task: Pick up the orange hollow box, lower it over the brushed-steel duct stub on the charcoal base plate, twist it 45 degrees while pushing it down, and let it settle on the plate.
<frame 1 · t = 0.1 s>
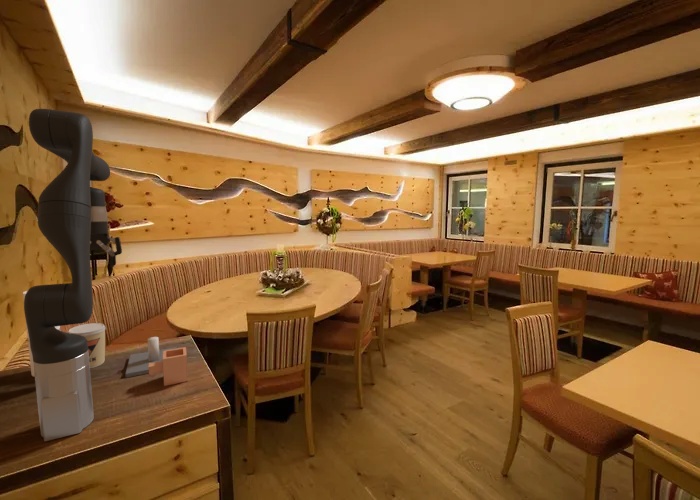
hand: (97, 267, 109), 29 cm above the table, tool pointing down, fingers open, 8 cm apart
orange hollow box: (176, 378, 95), on the table
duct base: (154, 362, 104), on the table
coffee cup: (89, 364, 102), on the table
cylindrical container: (48, 371, 97), on the table
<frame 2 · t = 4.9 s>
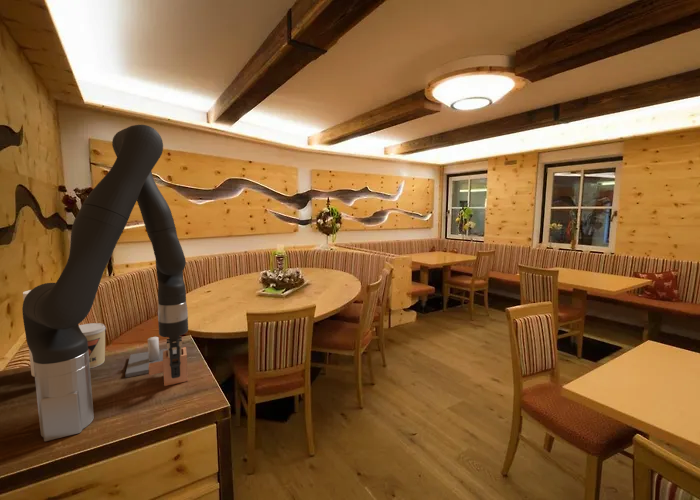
hand: (175, 371, 95), 2 cm above the table, tool pointing down, fingers closed on orange hollow box, 6 cm apart
orange hollow box: (176, 378, 95), on the table, touching gripper
everything else where it was.
when the fingers open (5 cm above the table, at t = 11.6 s): orange hollow box drops 1 cm, resting on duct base.
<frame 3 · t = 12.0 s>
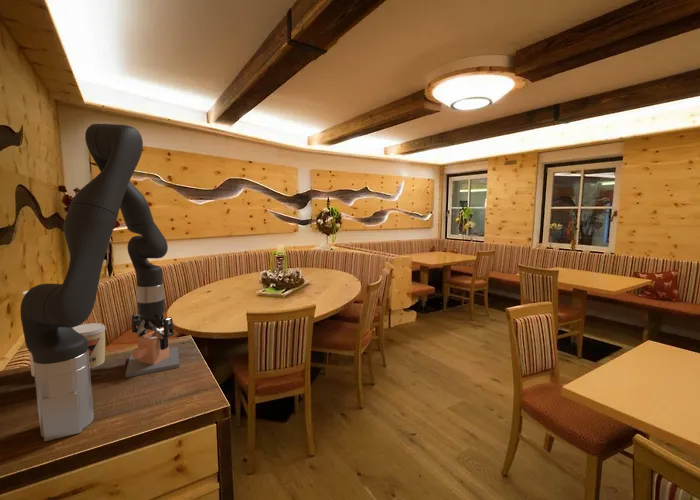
hand: (153, 347, 103), 5 cm above the table, tool pointing down, fingers open, 8 cm apart
orange hollow box: (154, 359, 104), point 1 cm above the table, touching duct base
everything else where it was.
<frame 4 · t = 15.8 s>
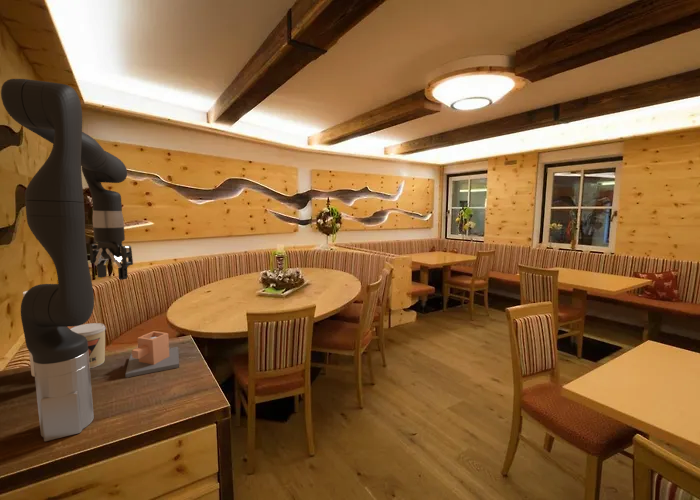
hand: (112, 278, 99), 28 cm above the table, tool pointing down, fingers open, 8 cm apart
nothing on the table moved.
at the end: orange hollow box 0.1 cm off-centre on the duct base, point 1.2 cm above the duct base's base; orange hollow box tilted 0°; the gripper is holding nothing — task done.
